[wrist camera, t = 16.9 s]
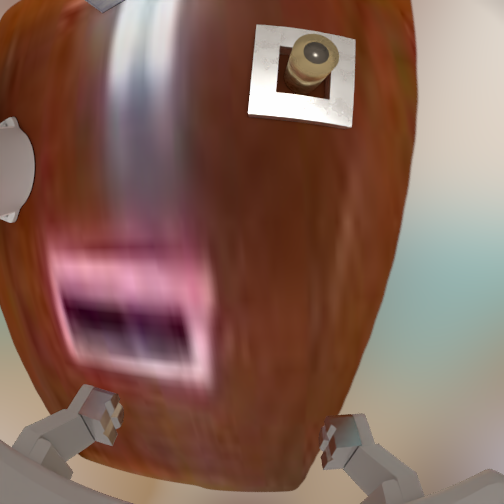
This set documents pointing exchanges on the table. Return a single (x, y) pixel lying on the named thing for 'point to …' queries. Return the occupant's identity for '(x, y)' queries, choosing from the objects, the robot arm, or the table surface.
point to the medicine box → (103, 4)
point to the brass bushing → (310, 63)
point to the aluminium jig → (298, 106)
